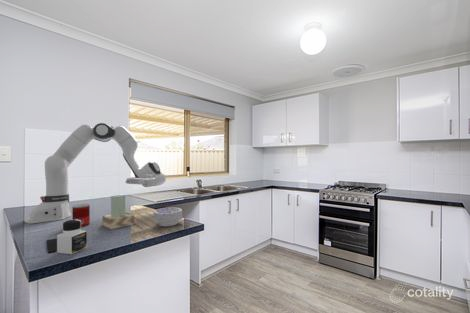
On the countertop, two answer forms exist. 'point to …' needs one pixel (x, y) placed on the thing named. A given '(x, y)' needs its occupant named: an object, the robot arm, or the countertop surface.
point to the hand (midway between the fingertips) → (132, 182)
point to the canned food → (81, 213)
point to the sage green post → (117, 205)
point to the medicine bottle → (71, 238)
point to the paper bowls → (167, 216)
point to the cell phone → (52, 245)
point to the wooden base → (118, 221)
